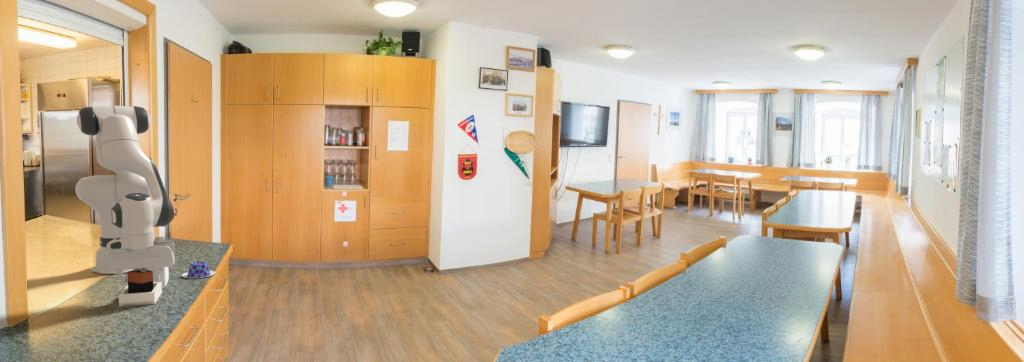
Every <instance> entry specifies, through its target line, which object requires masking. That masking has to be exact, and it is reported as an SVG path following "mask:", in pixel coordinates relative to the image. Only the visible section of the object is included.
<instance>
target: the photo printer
mask: <svg viewBox="0 0 1024 362" xmlns="http://www.w3.org/2000/svg"><path fill="white" fill-rule="evenodd" d="M152 271H153V283H155V282H162V289H163V288H165V287H166V286H167V284H169V283H168V282H169V280H170V279H169V278H170V276H169V275H170V274H169V267H163V270H162V271H161V273H160V279H159V280H154V275H155V274H158V272H159V270H157V268H152Z"/></svg>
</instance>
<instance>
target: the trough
mask: <svg viewBox="0 0 1024 362" xmlns="http://www.w3.org/2000/svg"><path fill="white" fill-rule="evenodd" d="M162 294H163V288H162V282H155V283H153V290H152V292H143V293H130V294H128V284H127V285H126V286H125V287H124V289H122V291H120V293H119V294H118V307H119V308H122V307H136V306H146V305H147V306H148V305H155V304H156V303H157V301H158V300H159V298H160V297H161V295H162Z"/></svg>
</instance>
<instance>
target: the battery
mask: <svg viewBox="0 0 1024 362" xmlns="http://www.w3.org/2000/svg"><path fill="white" fill-rule="evenodd" d="M126 273H127V285H128V294H130V293H143V292H152V290H153V270H151V269H150V270H149V269H148V268H142V269H134V270H132V271H128V272H126Z"/></svg>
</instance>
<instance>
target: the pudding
mask: <svg viewBox="0 0 1024 362" xmlns="http://www.w3.org/2000/svg"><path fill="white" fill-rule="evenodd" d="M216 273H217V272H216V271H215V270H210V269H209V265H208V263H207V262H206V261H195V262H191V263H190V264H189V268H188V271H187V272H185V273H183V274H181V276H180V277H182V278H184V279H202V278H207V277H211V276H214V275H215V274H216Z"/></svg>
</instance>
